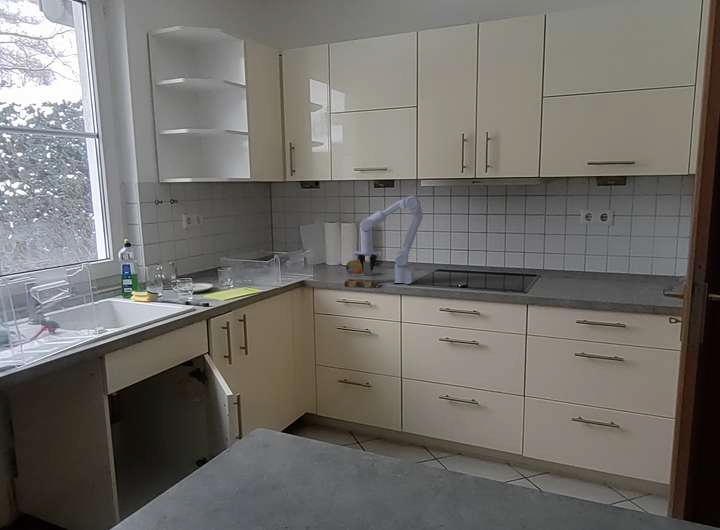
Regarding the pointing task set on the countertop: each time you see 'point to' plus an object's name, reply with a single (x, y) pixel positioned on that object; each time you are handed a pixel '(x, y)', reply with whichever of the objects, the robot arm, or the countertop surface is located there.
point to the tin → (354, 267)
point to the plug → (367, 268)
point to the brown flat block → (361, 283)
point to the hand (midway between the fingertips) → (367, 269)
